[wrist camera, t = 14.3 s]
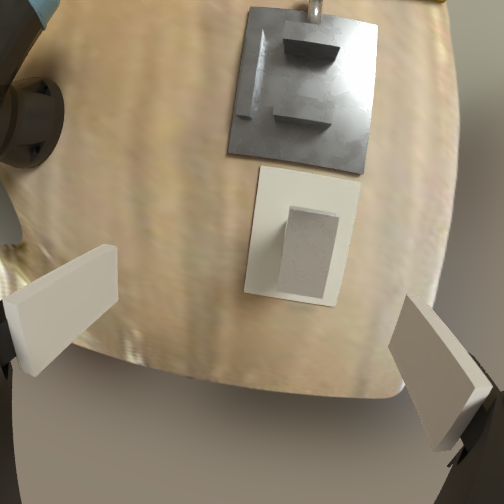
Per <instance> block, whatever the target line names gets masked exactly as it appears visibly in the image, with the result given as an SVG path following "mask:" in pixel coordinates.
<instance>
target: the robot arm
mask: <svg viewBox="0 0 504 504" xmlns="http://www.w3.org/2000/svg"><path fill="white" fill-rule="evenodd" d="M59 4H60V0H0V162H3V163H5V164H8V165H11V166H13V167H16V168H30V167H35V166H37V165H39V164H41V163H42V162H43V161H44V160H45V159H46V158H47V157H48V156H49V155H50V154H51V152H52V151H53V149H54V147H55V145H56V143H57V141H58V139H59V136H60V133H61V129H62V125H63V119H64V101H63V96H62V93H61V91H60V89H59V87H58V86H57V84H56V83H54V82H53V81H52V80H49V79H45V78H41V77H32V78H27V79H23V80H19V81H14V82H12V81H13V79H14V77H15V75H16V74H17V72H18V70H19V68H20V66H21V65H22V63H23V61H24V60H25V58H26V56H27V55H28V53H29V51H30V50H31V48H32V46H33V45H34V43H35V42H36V40H37V39H38V37H39V36H40V34H41V33H42V31H43V30H45V29H46V26H47V23H48V22H49V20H50V18H51V17H52V15H53V14H54V13H55V11H56V10H57V8H58V6H59ZM117 301H118V272H117V246H112V245H107V244H103V245H101V246H99V247H97V248H95V249H93V250H91V251H89V252H87V253H85V254H83V255H81V256H79V257H77V258H75V259H74V260H72V261H70V262H68V263H66V264H64V265H62V266H60V267H59V268H57V269H55V270H53V271H51V272H49V273H48V274H46V275H44V276H42V277H40V278H39V279H37V280H35V281H33V282H31V283H30V284H28V285H26V286H24V287H23V288H21V289H19V290H18V291H16V292H14V293H12V294H11V295H9V296H7V297H6V298H4V299H2V300H1V301H0V504H22V503H21V498H20V492H19V486H18V480H17V474H16V465H15V455H14V445H13V428H12V372H13V369H12V365H11V362H10V361H11V360H12V359H13V358H14V357H16V358H17V361H18V364H19V367H20V370H22V371H23V372H26V373H27V374H29V375H31V376H33V377H36V376H37V375H38V374H39V373H40V372H41V371H42V370H43V369H44V368H45V367H46V366H47V365H48V364H49V363H51V362H52V361H53V360H54V359H55V358H56V357H57V356H58V355H59V354H60V353H61V352H62V351H63V350H64V349H65V348H66V347H67V346H68V345H70V343H72V342H73V341H74V340H75V339H76V338H77V337H78V336H79V335H80V334H82V333H83V332H84V331H85V330H86V329H87V328H88V327H89V326H90V325H91V324H93V323H94V322H95V321H96V320H97V319H98V318H99V317H100V316H101V315H103V314H104V313H105V312H106V311H107V310H108V309H109V308H110V307H112V306H113V305H114V304H115V303H116V302H117ZM388 347H389V350H390V352H391V354H392V356H393V358H394V360H395V362H396V365H397V367H398V369H399V371H400V373H401V376H402V378H403V380H404V382H405V385H406V387H407V389H408V391H409V394H410V396H411V398H412V401H413V403H414V405H415V408H416V410H417V413H418V415H419V417H420V420H421V422H422V425H423V427H424V430H425V433H426V435H427V437H428V440H429V443H430V446H431V448H432V451H433V452H438V451H446V450H451V449H452V448H453V446H454V445H455V444H456V442H457V441H458V439H459V438H461V440H462V442H463V444H464V445H463V447H462V448H461V449H460V451H459V452H458V453H457V454H456V456H455V457H454V458H453V459H452V460H451V462H450V463H449V464H448V465H447V467H450V466H451V465H452V464H453V466H452V468H451V470H450V472H449V474H448V477H447V479H446V481H445V483H444V485H443V487H442V490H441V491H440V493H439V495H438V497H437V499H436V500H435V502H434V504H504V391H502V392H500V391H499V389H498V387H497V386H496V385H495V383H494V382H493V381H492V379H491V378H490V377H489V375H488V374H487V373H485V370H484V369H483V367H482V366H480V363H479V362H478V361H477V360H476V359H475V357H474V356H472V355H471V354H470V353H469V352H467V351H466V350H465V349H464V347H463V346H462V345H461V344H460V342H459V341H458V340H457V339H456V337H455V336H454V335H453V334H452V332H451V331H450V330H449V329H448V328H447V326H446V325H445V324H444V323H443V322H442V321H441V319H440V318H439V317H438V316H437V314H436V313H435V312H434V311H433V310H432V309H431V307H430V306H429V305H428V304H427V303H426V302H425V301H424V299H423V298H422V297H421V296H416V295H409V294H406V297H405V300H404V304H403V307H402V310H401V313H400V316H399V318H398V321H397V324H396V327H395V330H394V333H393V335H392V338H391V341H390V343H389V346H388Z"/></svg>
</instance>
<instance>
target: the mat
mask: <svg viewBox="0 0 504 504" xmlns="http://www.w3.org/2000/svg"><path fill="white" fill-rule="evenodd" d="M360 187H361V182H356V181H351V180H346V179H341V178H335V177H330V176H324V175H319V174H313V173H307V172H301V171H295V170H288V169H282V168H275V167H268V166H261V168H260V175H259V183H258V190H257V197H256V205H255V212H254V219H253V227H252V234H251V242H250V249H249V256H248V264H247V271H246V279H245V286H244V292H245V293H251V294H257V295H263V296H269V297H275V298H281V299H287V300H293V301H299V302H306V303H312V304H319V305H326V306H332V307H335V306H336V302H337V298H338V294H339V290H340V286H341V282H342V278H343V273H344V269H345V264H346V260H347V255H348V251H349V246H350V241H351V236H352V231H353V226H354V221H355V215H356V210H357V204H358V199H359V193H360ZM290 205H291V206H297V207H303V208H309V209H315V210H321V211H327V212H332V213H336V214H337V215H338V217H339V222H338V228H337V233H336V238H335V243H334V248H333V253H332V258H331V263H330V268H329V272H328V277H327V281H326V286H325V290H324V295H323V299H321V298H314V297H308V296H301V295H295V294H289V293H283V292H276V289H277V282H278V275H279V268H280V261H281V253H282V247H283V241H284V235H285V228H286V222H287V220H288V214H289V208H290Z"/></svg>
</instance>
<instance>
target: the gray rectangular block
mask: <svg viewBox="0 0 504 504" xmlns="http://www.w3.org/2000/svg"><path fill="white" fill-rule="evenodd" d="M338 222H339V217H338V215H337V214H336V213H332V212H327V211H321V210H315V209H309V208H303V207H297V206H291V205H290V208H289V214H288V220H287V222H286V228H285V235H284V241H283V247H282V253H281V261H280V268H279V275H278V282H277V289H276V292H283V293H289V294H295V295H301V296H308V297H314V298H321V299H323V295H324V290H325V286H326V281H327V277H328V272H329V268H330V263H331V258H332V253H333V248H334V243H335V238H336V233H337V228H338Z"/></svg>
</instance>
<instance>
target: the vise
mask: <svg viewBox="0 0 504 504" xmlns="http://www.w3.org/2000/svg"><path fill="white" fill-rule="evenodd" d="M322 5H323V0H309V6H308V12H306V11H299V10H290V9H280V8H267V7H250V12H249V17H248V23H247V29H246V35H245V41H244V47H243V53H242V59H241V65H240V72H239V78H238V85H237V91H236V98H235V105H234V112H233V119H232V126H231V133H230V141H229V148H228V153H231V154H240V155H248V156H256V157H263V158H271V159H278V160H284V161H291V162H297V163H304V164H310V165H316V166H321V167H327V168H332V169H338V170H343V171H348V172H353V173H358V174H363V173H364V166H365V160H366V153H367V145H368V138H369V129H370V121H371V112H372V102H373V92H374V80H375V66H376V50H377V25H374V24H370V23H366V22H361V21H357V20H352V19H348V18H343V17H337V16H332V15H326V14H322Z"/></svg>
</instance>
